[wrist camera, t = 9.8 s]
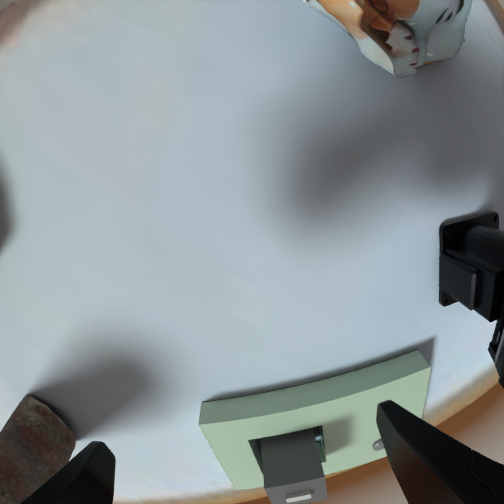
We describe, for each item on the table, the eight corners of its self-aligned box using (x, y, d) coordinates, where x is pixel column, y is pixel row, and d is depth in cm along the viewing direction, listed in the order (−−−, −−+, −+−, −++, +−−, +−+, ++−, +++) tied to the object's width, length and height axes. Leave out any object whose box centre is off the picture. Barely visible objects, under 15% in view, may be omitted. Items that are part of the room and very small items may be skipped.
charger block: (308, 411, 23) (325, 480, 16) (312, 438, 24) (328, 502, 17) (258, 421, 23) (264, 492, 16) (268, 447, 24) (274, 512, 17)
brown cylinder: (77, 411, 22) (4, 578, 3) (85, 451, 24) (36, 590, 5) (16, 383, 22) (-73, 517, 2) (30, 426, 24) (-34, 546, 4)
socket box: (417, 349, 22) (432, 368, 19) (405, 428, 25) (415, 447, 22) (201, 402, 22) (198, 427, 19) (235, 471, 25) (236, 492, 22)
